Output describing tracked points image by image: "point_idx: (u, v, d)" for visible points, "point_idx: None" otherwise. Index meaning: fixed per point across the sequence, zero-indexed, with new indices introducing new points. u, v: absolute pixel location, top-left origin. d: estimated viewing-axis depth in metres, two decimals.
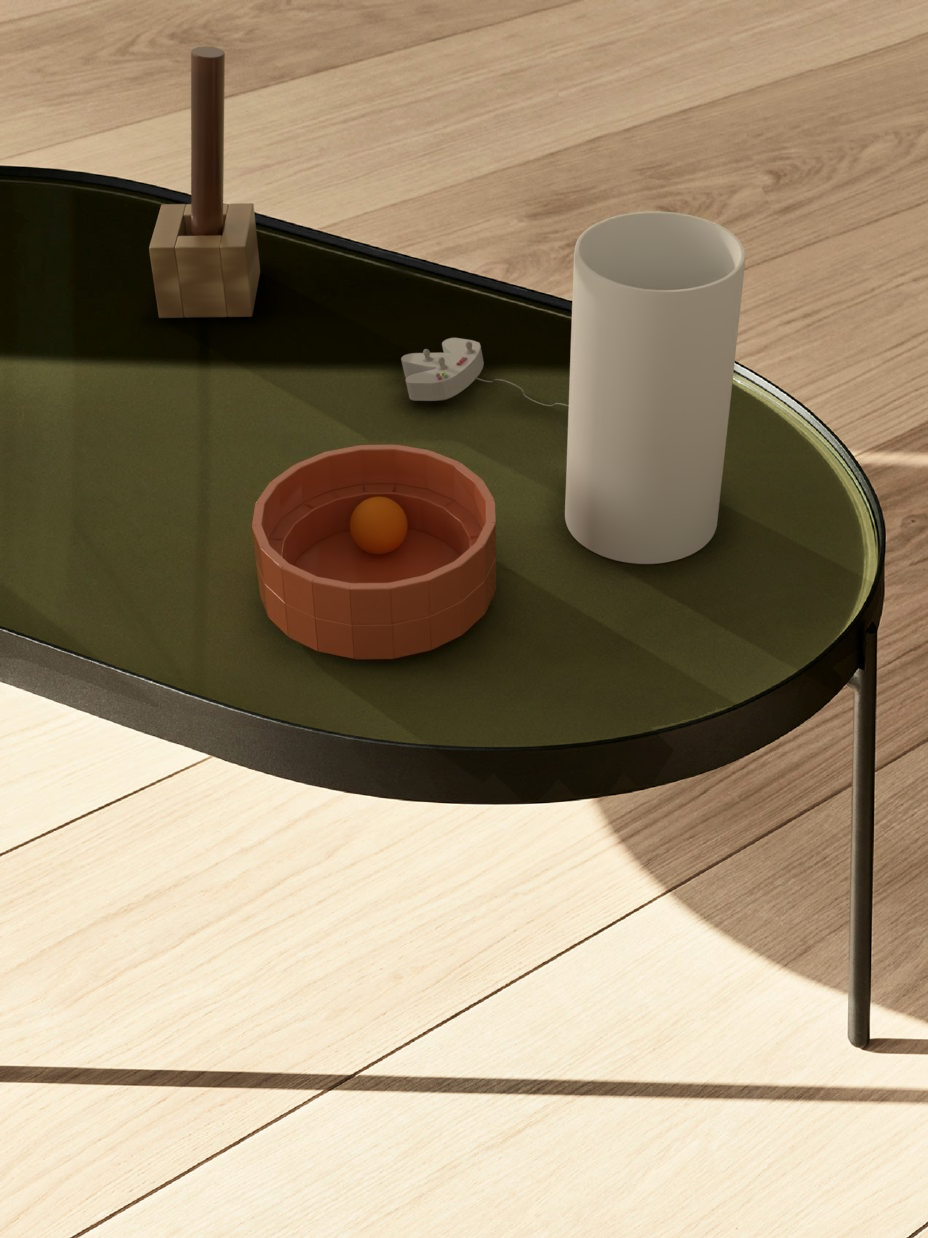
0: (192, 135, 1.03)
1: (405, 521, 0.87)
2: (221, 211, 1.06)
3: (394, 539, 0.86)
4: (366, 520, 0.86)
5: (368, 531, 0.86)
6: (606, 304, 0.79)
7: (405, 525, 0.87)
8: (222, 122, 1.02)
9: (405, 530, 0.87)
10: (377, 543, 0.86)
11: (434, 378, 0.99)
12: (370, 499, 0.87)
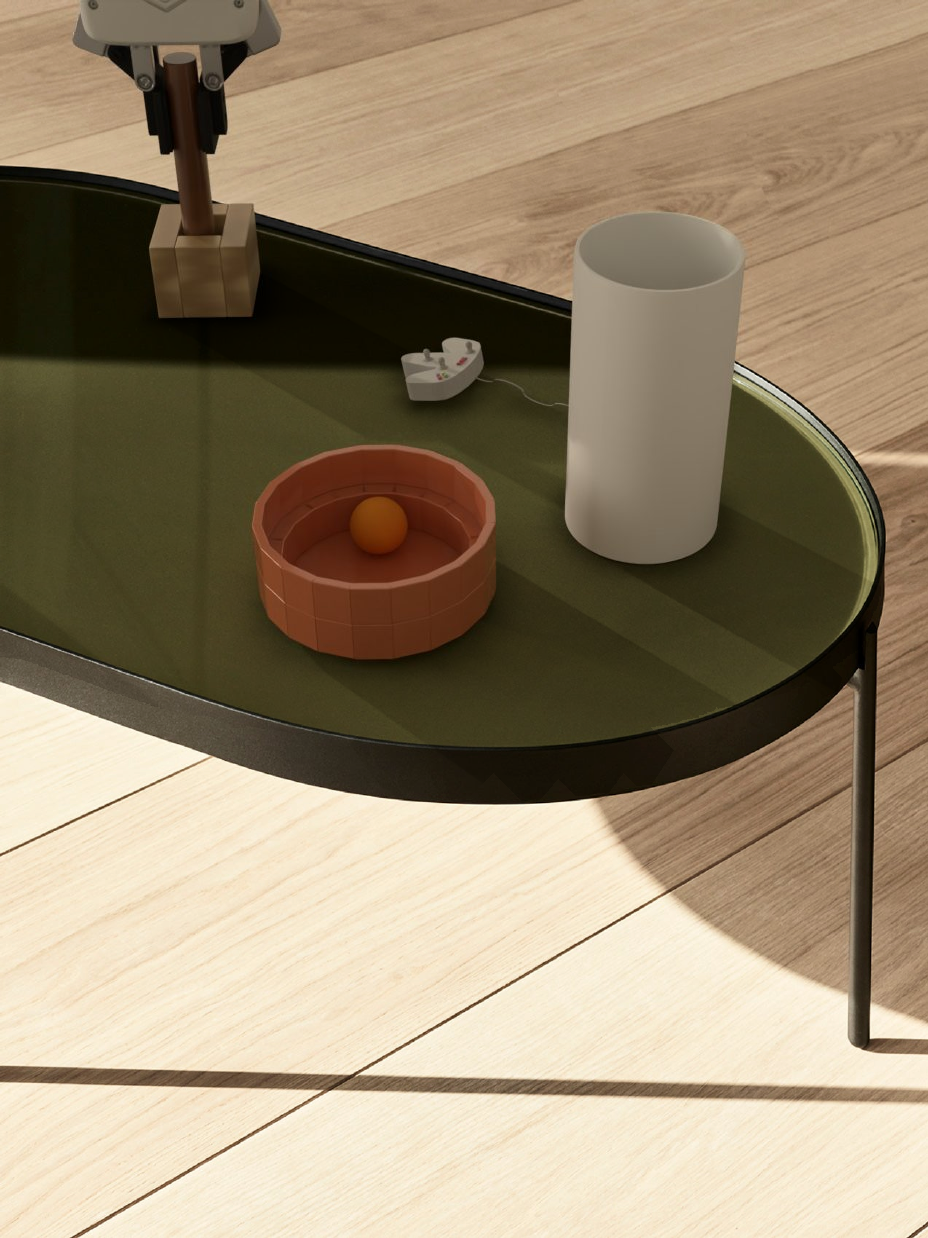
0: (173, 142, 1.02)
1: (405, 521, 0.87)
2: (211, 214, 1.06)
3: (394, 539, 0.86)
4: (366, 520, 0.86)
5: (368, 531, 0.86)
6: (606, 304, 0.79)
7: (405, 525, 0.87)
8: None
9: (405, 530, 0.87)
10: (377, 543, 0.86)
11: (434, 378, 0.99)
12: (370, 499, 0.87)
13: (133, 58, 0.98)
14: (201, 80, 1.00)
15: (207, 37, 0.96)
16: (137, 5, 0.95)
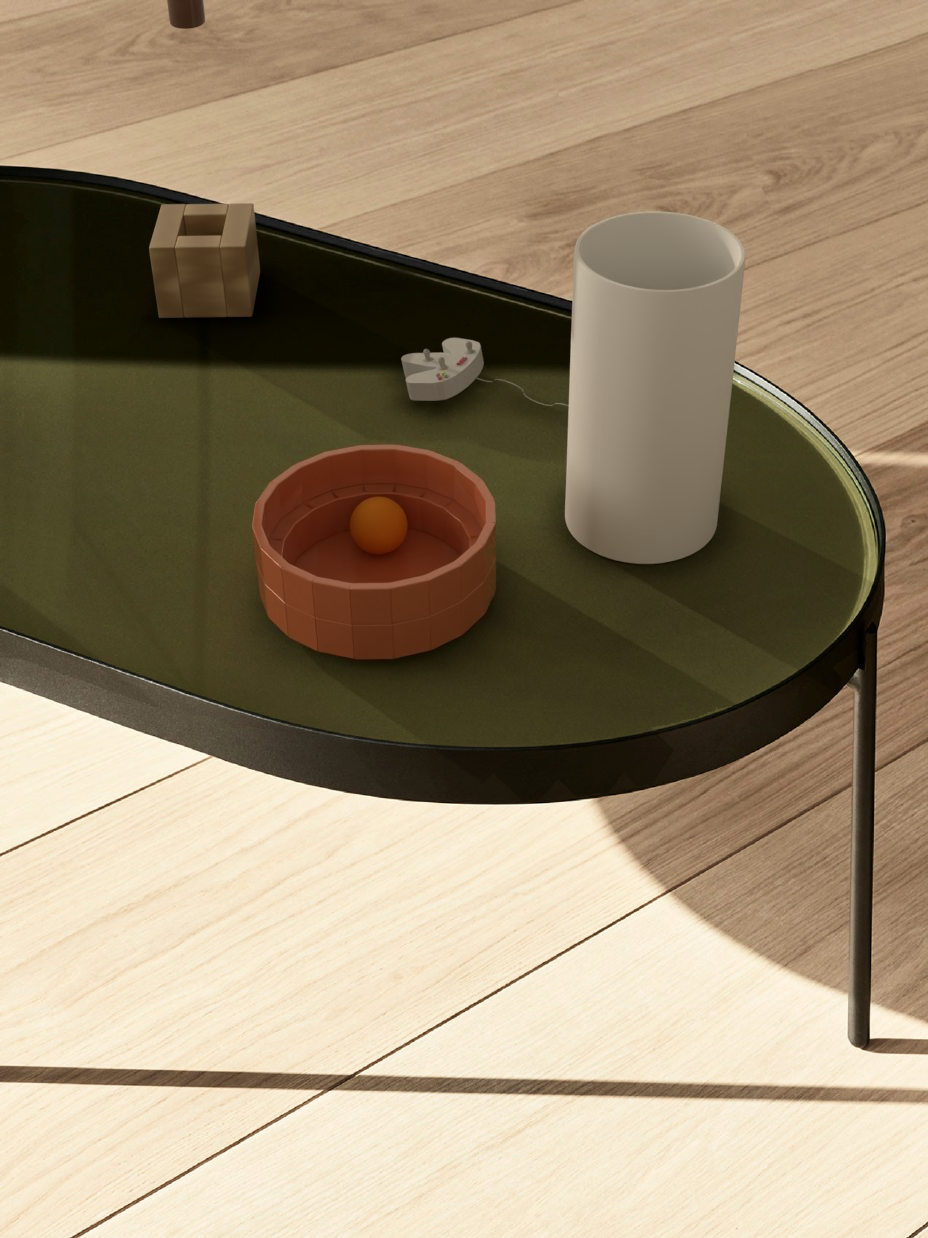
0: None
1: (405, 521, 0.87)
2: None
3: (394, 539, 0.86)
4: (366, 520, 0.86)
5: (368, 531, 0.86)
6: (606, 304, 0.79)
7: (405, 525, 0.87)
8: None
9: (405, 530, 0.87)
10: (377, 543, 0.86)
11: (434, 378, 0.99)
12: (370, 499, 0.87)
13: None
14: None
15: None
16: None
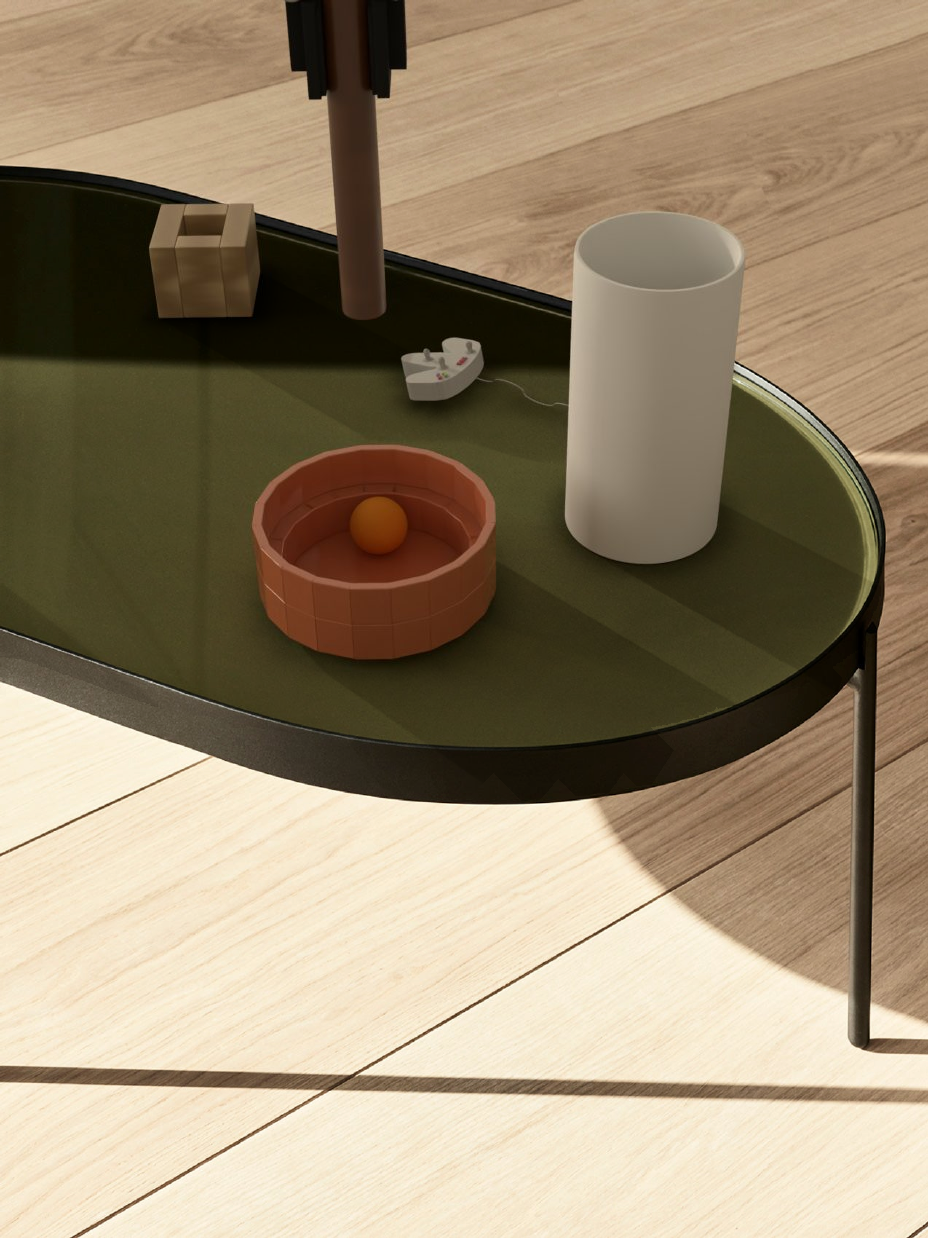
0: (328, 80, 0.68)
1: (405, 521, 0.87)
2: (378, 187, 0.72)
3: (394, 539, 0.86)
4: (366, 520, 0.86)
5: (368, 531, 0.86)
6: (606, 304, 0.79)
7: (405, 525, 0.87)
8: None
9: (405, 530, 0.87)
10: (377, 543, 0.86)
11: (434, 378, 0.99)
12: (370, 499, 0.87)
13: None
14: None
15: None
16: None
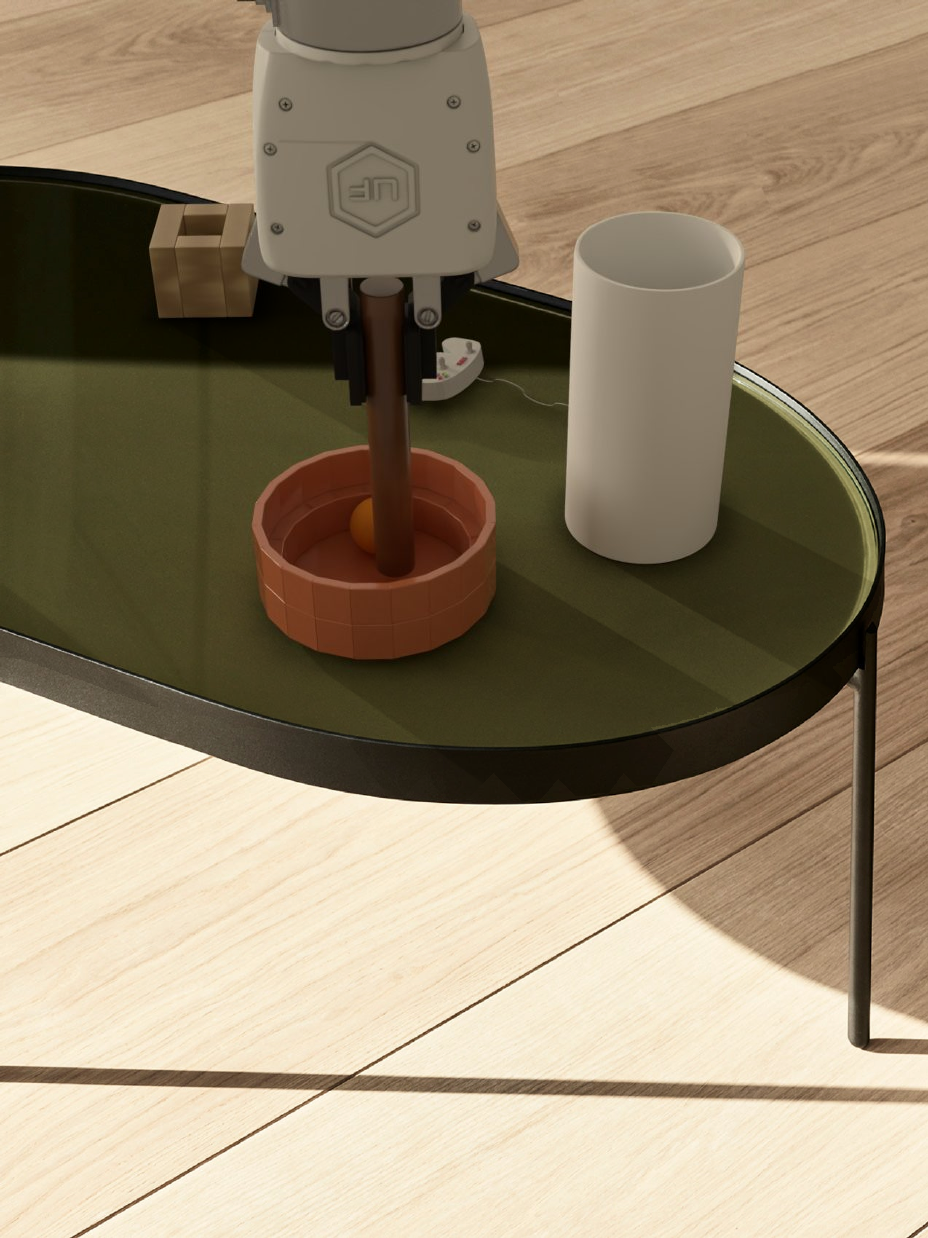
0: (367, 389, 0.78)
1: None
2: (409, 471, 0.81)
3: None
4: (366, 520, 0.86)
5: (368, 531, 0.86)
6: (606, 304, 0.79)
7: None
8: None
9: None
10: None
11: None
12: (370, 499, 0.87)
13: (323, 290, 0.74)
14: (410, 315, 0.75)
15: (428, 269, 0.71)
16: (337, 230, 0.70)
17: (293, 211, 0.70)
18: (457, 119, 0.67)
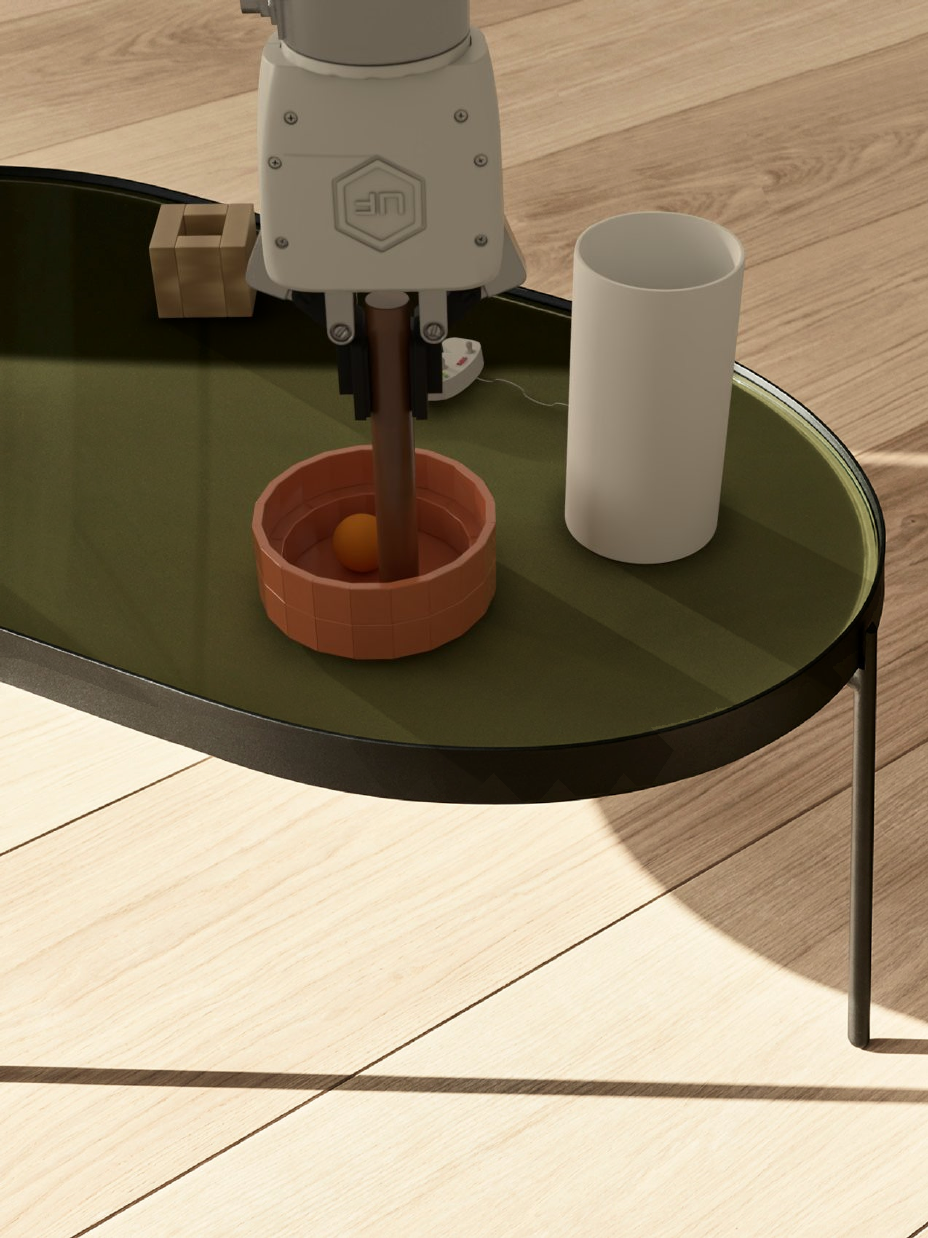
0: (372, 405, 0.77)
1: None
2: (415, 490, 0.80)
3: (356, 570, 0.86)
4: (348, 543, 0.85)
5: (342, 550, 0.85)
6: (606, 304, 0.79)
7: (376, 567, 0.86)
8: None
9: (373, 569, 0.86)
10: (341, 561, 0.86)
11: None
12: (370, 527, 0.85)
13: (327, 304, 0.73)
14: (416, 329, 0.74)
15: (434, 283, 0.71)
16: (342, 244, 0.69)
17: (298, 225, 0.69)
18: (464, 133, 0.67)
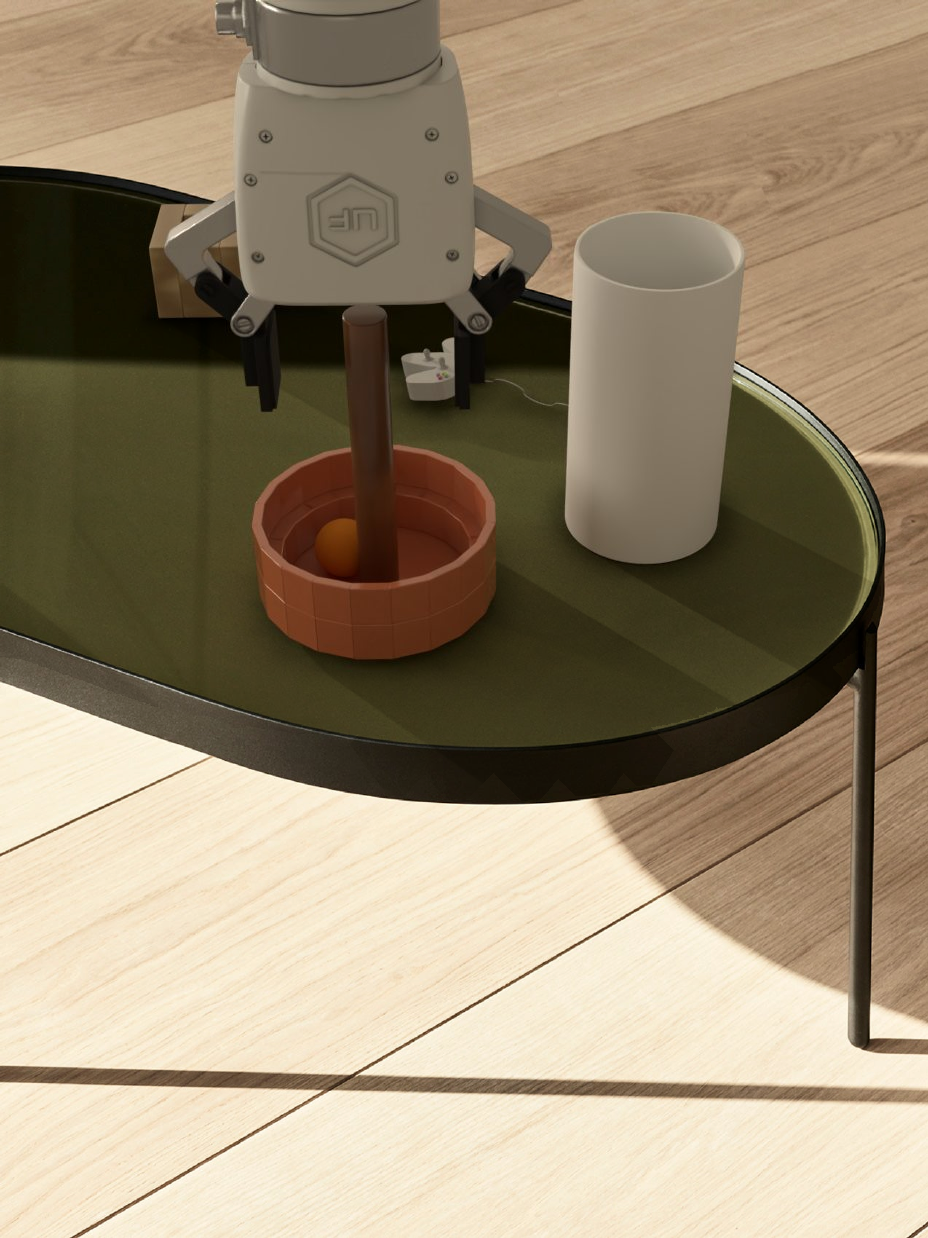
0: (351, 417, 0.78)
1: None
2: (394, 498, 0.81)
3: (352, 575, 0.86)
4: (326, 560, 0.85)
5: (326, 568, 0.85)
6: (606, 304, 0.79)
7: None
8: (389, 396, 0.78)
9: None
10: None
11: (434, 378, 0.99)
12: (338, 536, 0.84)
13: (250, 296, 0.74)
14: None
15: (407, 297, 0.72)
16: (317, 259, 0.71)
17: (274, 240, 0.71)
18: (435, 151, 0.68)
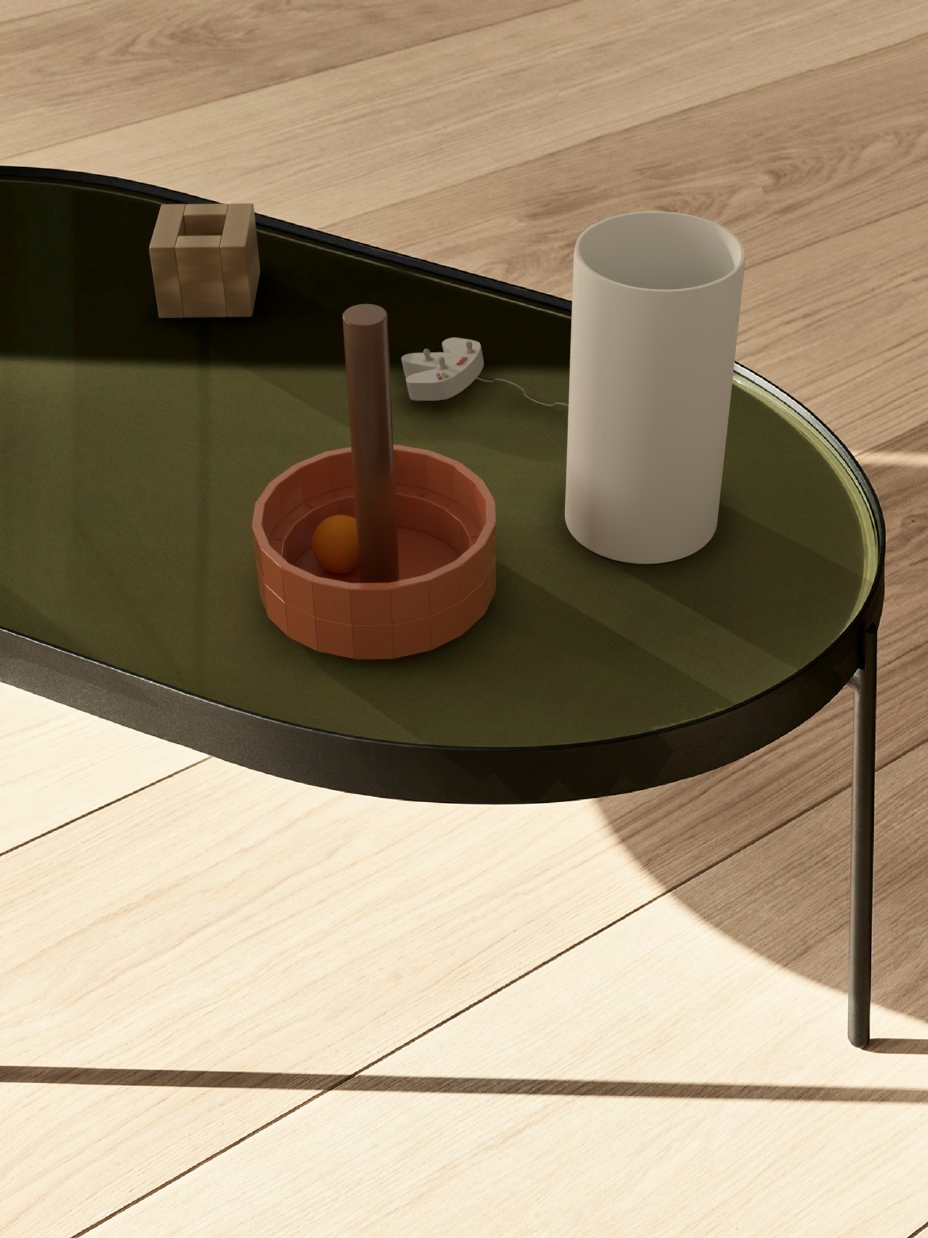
0: (351, 416, 0.78)
1: None
2: (394, 497, 0.81)
3: (350, 570, 0.86)
4: (322, 554, 0.85)
5: (324, 563, 0.85)
6: (606, 304, 0.79)
7: None
8: (389, 396, 0.78)
9: None
10: (333, 571, 0.86)
11: (434, 378, 0.99)
12: (332, 528, 0.85)
13: None
14: None
15: None
16: None
17: None
18: None
